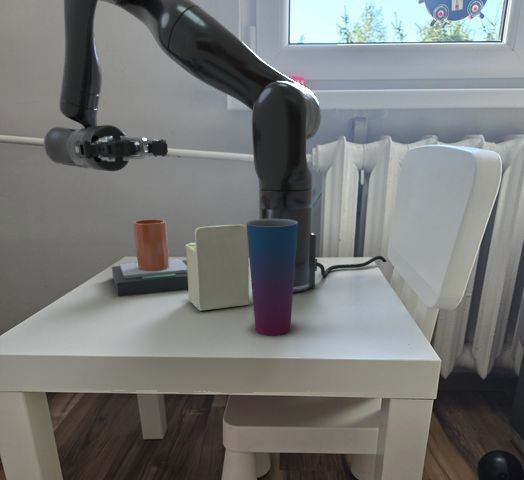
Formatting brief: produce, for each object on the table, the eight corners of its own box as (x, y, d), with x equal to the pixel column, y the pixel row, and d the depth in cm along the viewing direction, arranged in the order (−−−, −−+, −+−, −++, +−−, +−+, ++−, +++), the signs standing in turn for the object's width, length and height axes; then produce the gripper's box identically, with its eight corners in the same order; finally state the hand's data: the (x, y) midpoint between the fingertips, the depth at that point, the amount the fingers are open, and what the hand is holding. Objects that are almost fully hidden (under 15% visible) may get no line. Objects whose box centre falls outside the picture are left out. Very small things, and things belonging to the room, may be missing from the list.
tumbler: (167, 262, 98) (163, 218, 94) (172, 269, 93) (168, 222, 89) (136, 265, 96) (131, 220, 93) (140, 272, 91) (134, 225, 88)
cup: (300, 323, 73) (302, 219, 68) (290, 339, 67) (291, 227, 62) (256, 319, 75) (254, 217, 69) (242, 335, 69) (239, 225, 63)
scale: (187, 271, 103) (186, 257, 102) (201, 287, 92) (200, 271, 91) (113, 278, 99) (111, 263, 98) (118, 296, 88) (116, 279, 86)
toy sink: (234, 293, 88) (232, 217, 83) (250, 305, 82) (248, 224, 77) (187, 299, 85) (182, 221, 80) (200, 312, 79) (194, 228, 73)
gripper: (58, 125, 85) (92, 122, 73) (136, 125, 92) (178, 122, 81) (65, 172, 87) (99, 176, 76) (140, 168, 95) (182, 172, 83)
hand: (140, 148), depth 78 cm, fingers open, 8 cm apart
